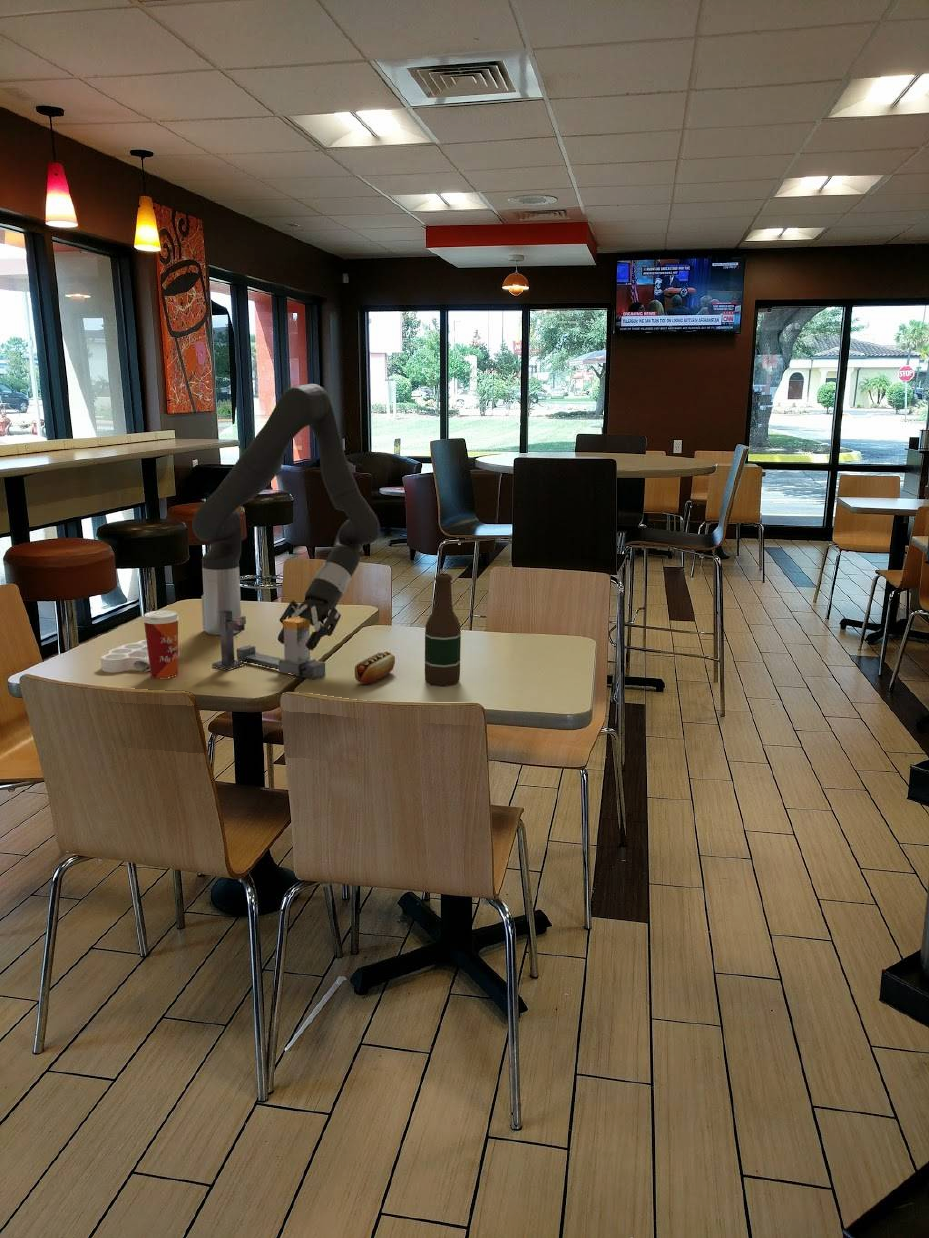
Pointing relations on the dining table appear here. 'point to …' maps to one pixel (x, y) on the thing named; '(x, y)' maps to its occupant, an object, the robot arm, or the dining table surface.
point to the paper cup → (162, 642)
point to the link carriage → (295, 646)
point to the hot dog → (374, 667)
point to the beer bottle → (442, 638)
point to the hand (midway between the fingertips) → (294, 645)
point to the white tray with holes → (127, 658)
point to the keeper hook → (229, 639)
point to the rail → (251, 656)
